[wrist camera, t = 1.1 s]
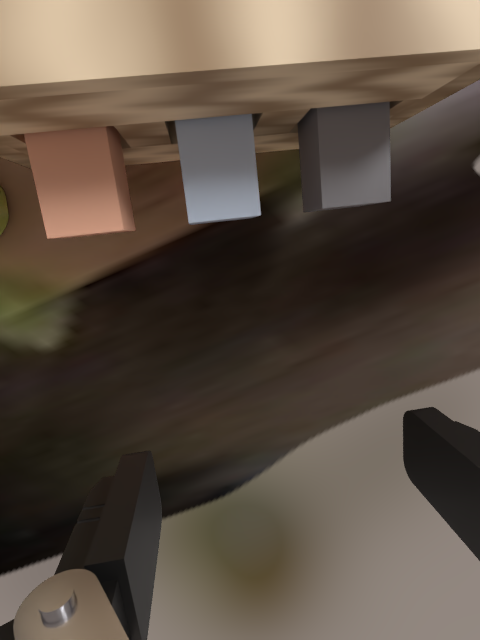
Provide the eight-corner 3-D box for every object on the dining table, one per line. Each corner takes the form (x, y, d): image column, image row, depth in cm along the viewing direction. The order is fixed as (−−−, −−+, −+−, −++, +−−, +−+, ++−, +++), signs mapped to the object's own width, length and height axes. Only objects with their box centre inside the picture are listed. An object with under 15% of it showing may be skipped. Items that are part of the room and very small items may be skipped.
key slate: (241, 118, 23) (250, 95, 19) (251, 218, 25) (260, 215, 21) (176, 123, 23) (172, 101, 19) (190, 224, 24) (188, 223, 20)
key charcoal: (358, 107, 24) (389, 83, 20) (361, 206, 25) (390, 201, 21) (296, 113, 24) (315, 89, 20) (303, 212, 25) (322, 208, 21)
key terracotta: (118, 128, 23) (101, 107, 19) (135, 230, 24) (123, 230, 20) (50, 135, 22) (19, 114, 18) (72, 237, 24) (47, 238, 20)
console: (360, 12, 28) (567, -270, 12) (364, 142, 30) (543, 43, 14) (13, 36, 26) (-269, -263, 10) (43, 173, 28) (-154, 98, 12)
